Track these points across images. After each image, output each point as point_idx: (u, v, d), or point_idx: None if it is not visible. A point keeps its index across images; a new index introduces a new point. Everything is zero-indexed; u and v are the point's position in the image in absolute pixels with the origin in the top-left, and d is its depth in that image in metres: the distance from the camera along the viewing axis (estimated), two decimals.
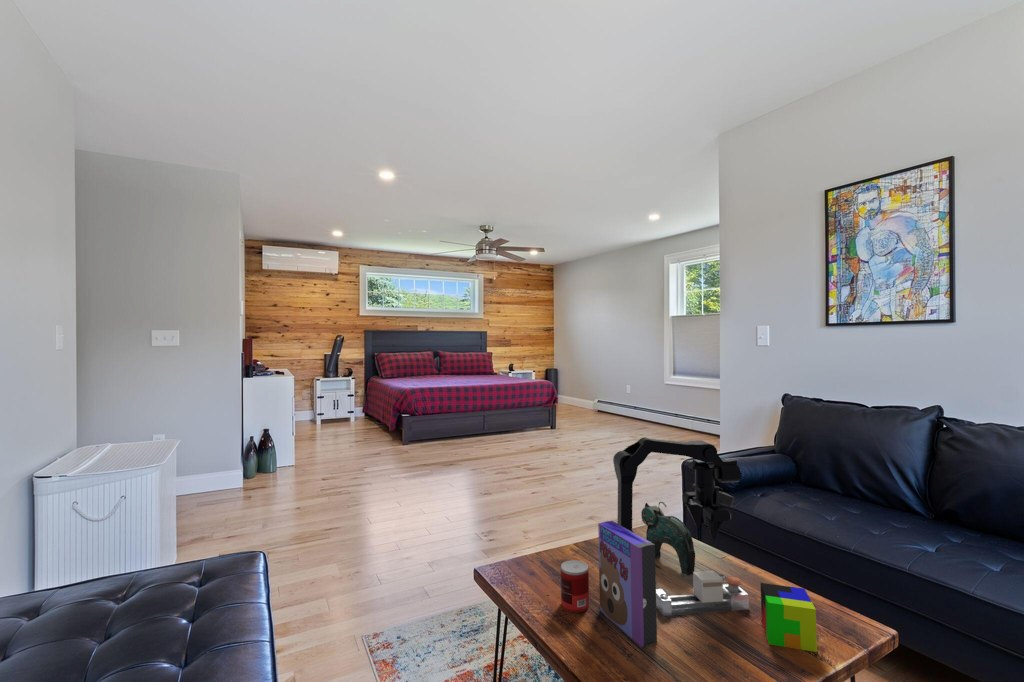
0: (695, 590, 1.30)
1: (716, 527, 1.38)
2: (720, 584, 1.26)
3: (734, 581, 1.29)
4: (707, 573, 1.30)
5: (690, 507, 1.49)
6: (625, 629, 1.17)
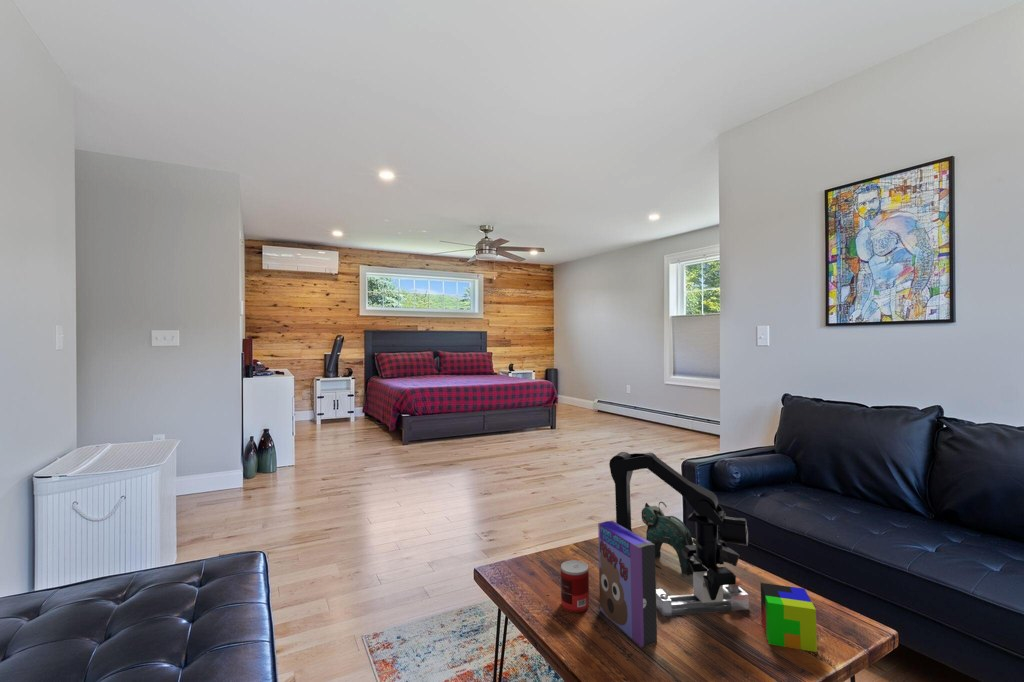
0: (695, 590, 1.30)
1: (715, 587, 1.25)
2: None
3: None
4: None
5: (694, 567, 1.32)
6: (625, 629, 1.17)
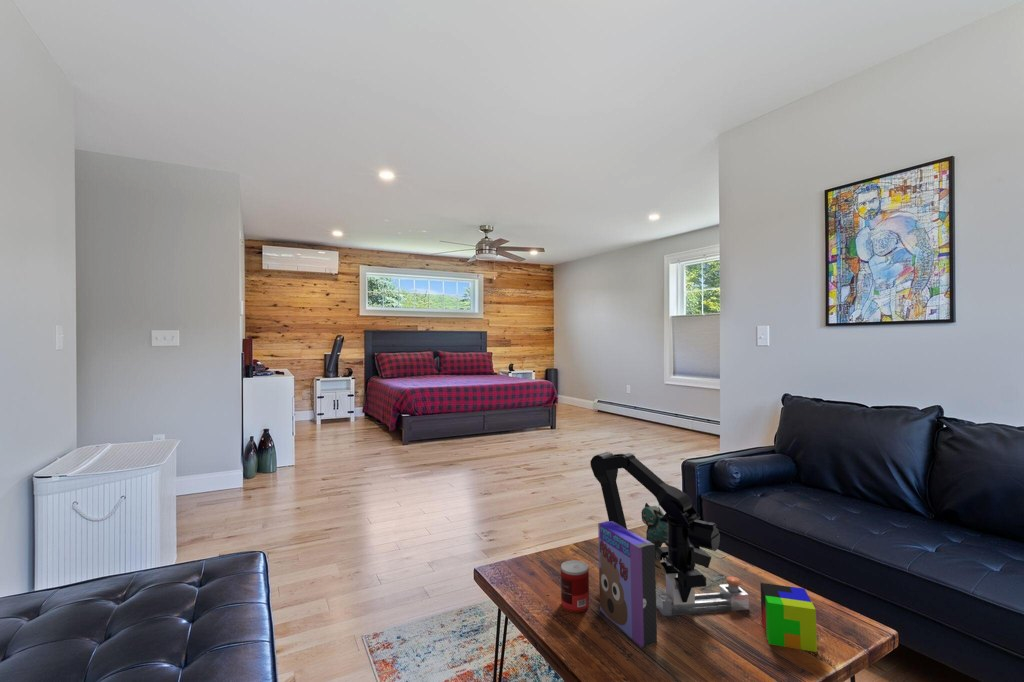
0: (667, 592, 1.29)
1: (687, 589, 1.24)
2: None
3: (734, 581, 1.29)
4: None
5: (666, 569, 1.31)
6: (625, 629, 1.17)
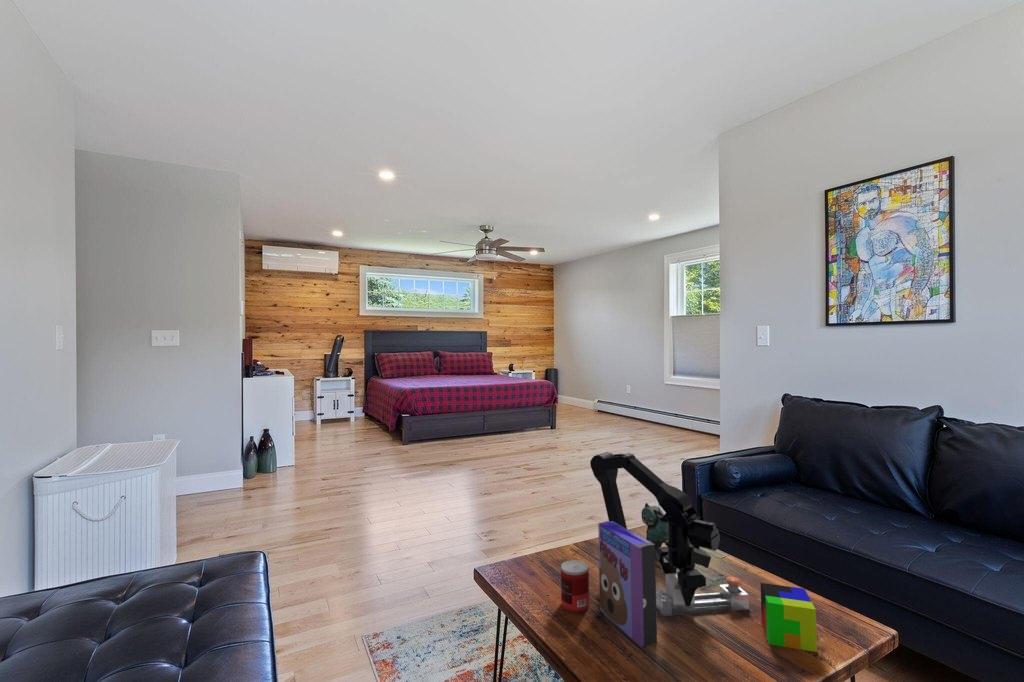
0: (667, 592, 1.29)
1: (690, 593, 1.22)
2: None
3: (734, 581, 1.29)
4: None
5: (663, 565, 1.33)
6: (625, 629, 1.17)
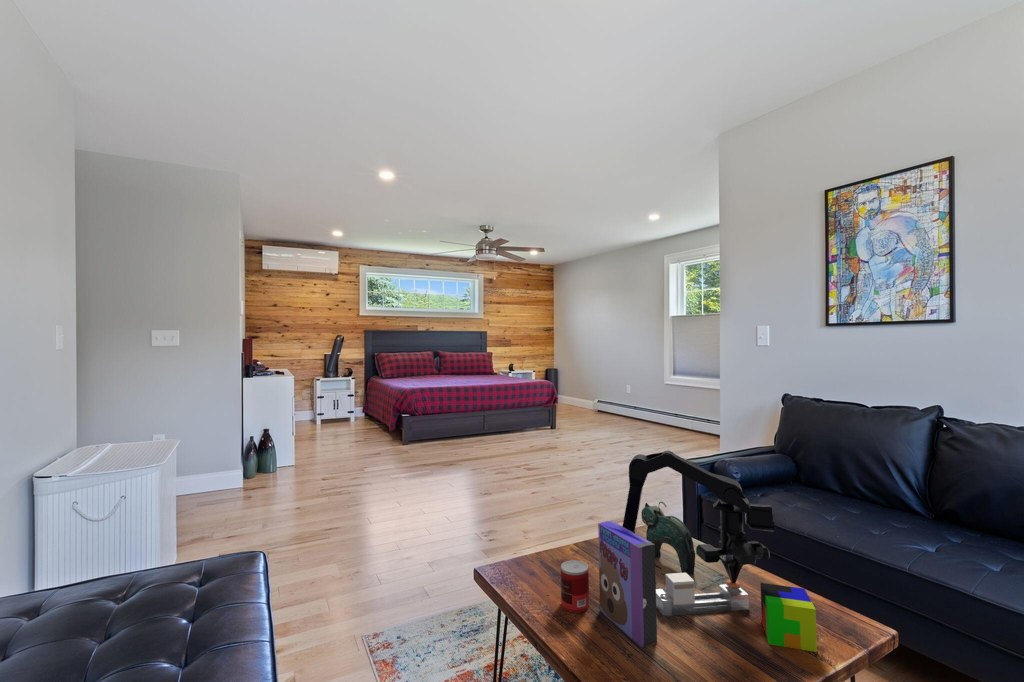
0: (667, 592, 1.29)
1: (728, 568, 1.29)
2: (692, 586, 1.26)
3: (734, 584, 1.29)
4: (679, 575, 1.29)
5: None
6: (625, 629, 1.17)
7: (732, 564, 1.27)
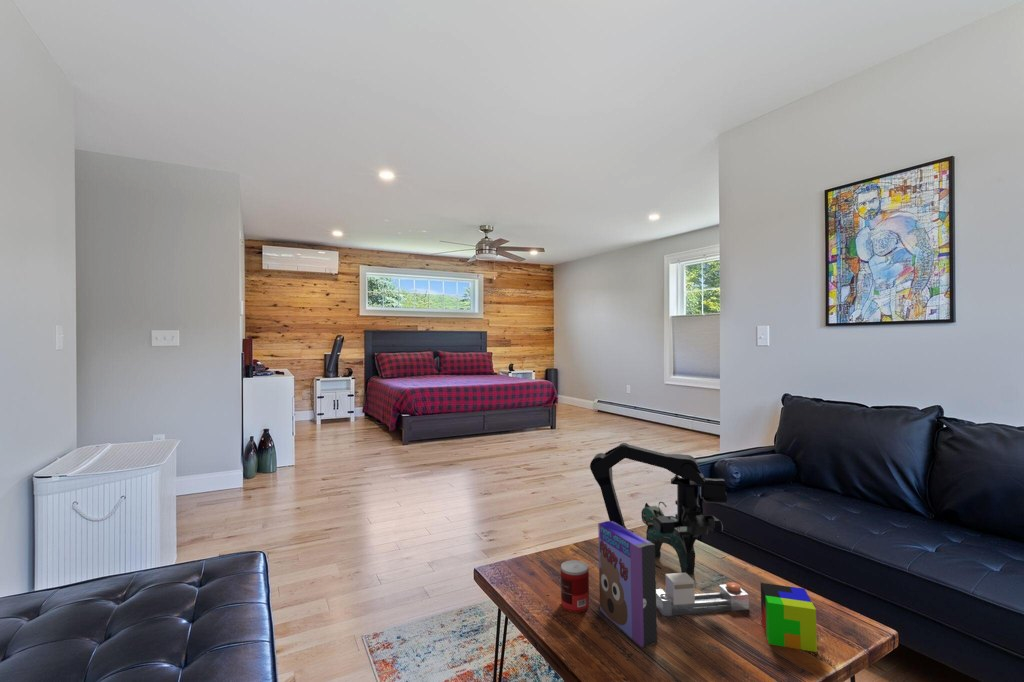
0: (667, 592, 1.29)
1: (683, 540, 1.35)
2: (692, 586, 1.26)
3: (734, 587, 1.29)
4: (679, 575, 1.29)
5: None
6: (625, 629, 1.17)
7: (686, 535, 1.33)
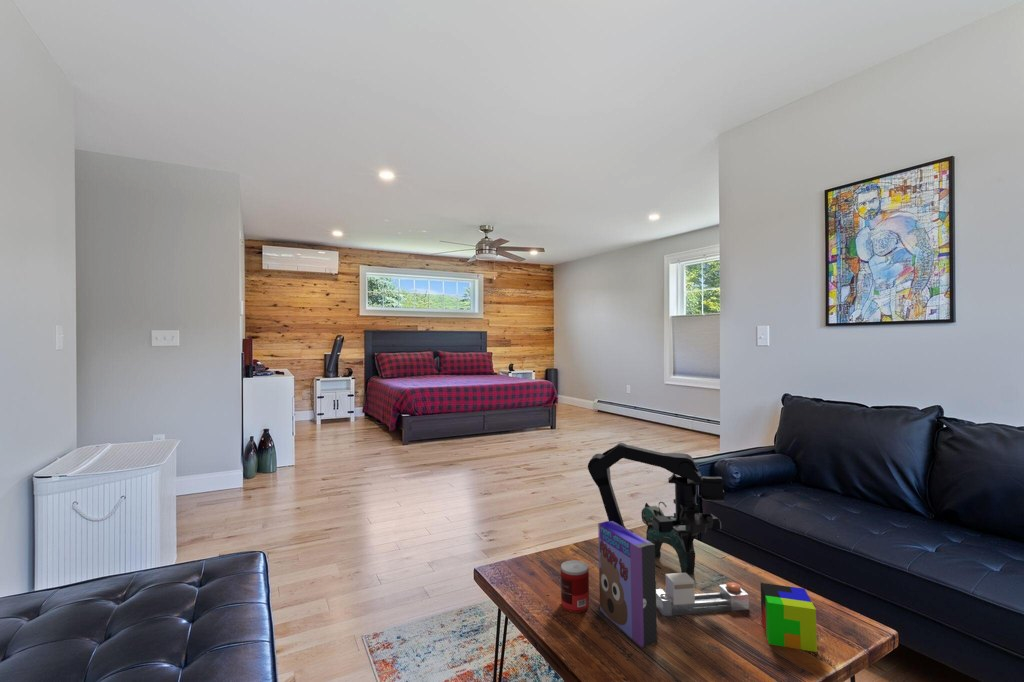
0: (667, 592, 1.29)
1: (682, 539, 1.35)
2: (692, 586, 1.26)
3: (734, 587, 1.29)
4: (679, 575, 1.29)
5: None
6: (625, 629, 1.17)
7: (685, 534, 1.33)
